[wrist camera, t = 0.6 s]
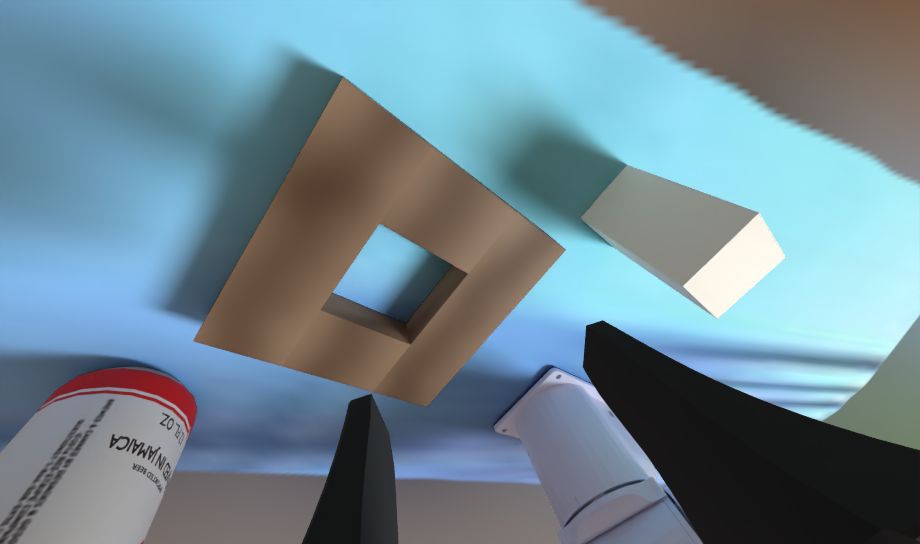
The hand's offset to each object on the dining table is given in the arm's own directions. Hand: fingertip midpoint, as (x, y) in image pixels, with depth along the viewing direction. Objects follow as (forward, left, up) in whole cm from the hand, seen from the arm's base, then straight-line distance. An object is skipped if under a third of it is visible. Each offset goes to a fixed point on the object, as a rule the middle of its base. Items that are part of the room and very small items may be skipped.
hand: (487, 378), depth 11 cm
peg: (-9, -8, -10) cm, 16 cm away
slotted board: (+1, +3, -10) cm, 10 cm away
